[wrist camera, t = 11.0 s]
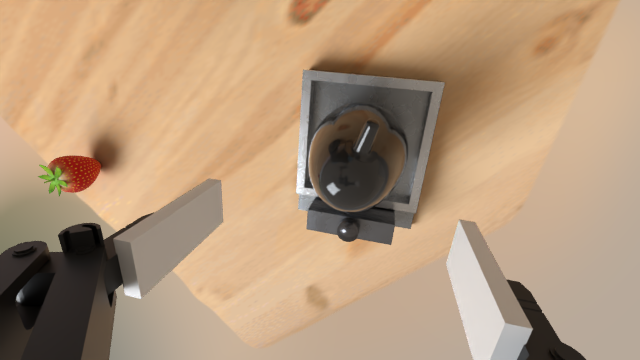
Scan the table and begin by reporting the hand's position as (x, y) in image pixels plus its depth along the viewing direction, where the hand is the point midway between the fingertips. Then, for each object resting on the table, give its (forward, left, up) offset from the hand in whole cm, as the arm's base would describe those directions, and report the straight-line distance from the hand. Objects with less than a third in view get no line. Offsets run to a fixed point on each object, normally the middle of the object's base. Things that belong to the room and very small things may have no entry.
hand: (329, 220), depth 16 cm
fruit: (+10, -41, -22) cm, 48 cm away
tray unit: (+2, 0, -22) cm, 22 cm away
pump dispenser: (0, 0, -21) cm, 21 cm away
